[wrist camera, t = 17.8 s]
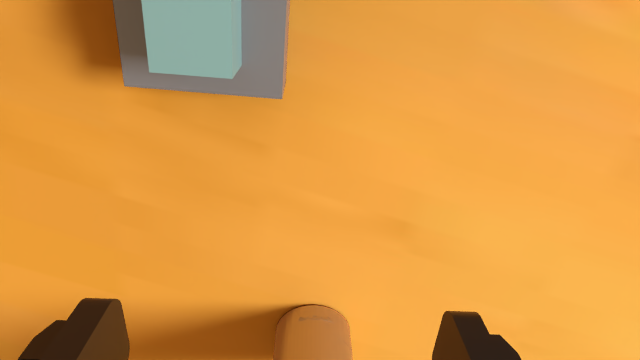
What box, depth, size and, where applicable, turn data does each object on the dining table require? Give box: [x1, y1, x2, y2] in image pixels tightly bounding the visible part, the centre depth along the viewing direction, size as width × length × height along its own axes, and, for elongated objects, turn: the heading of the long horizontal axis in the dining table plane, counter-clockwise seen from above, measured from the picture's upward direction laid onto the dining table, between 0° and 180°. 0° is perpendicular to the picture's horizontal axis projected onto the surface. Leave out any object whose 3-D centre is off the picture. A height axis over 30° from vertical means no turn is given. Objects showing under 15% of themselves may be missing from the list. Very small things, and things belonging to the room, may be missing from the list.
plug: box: [141, 0, 242, 79], centre depth 29 cm, size 5×5×8 cm
